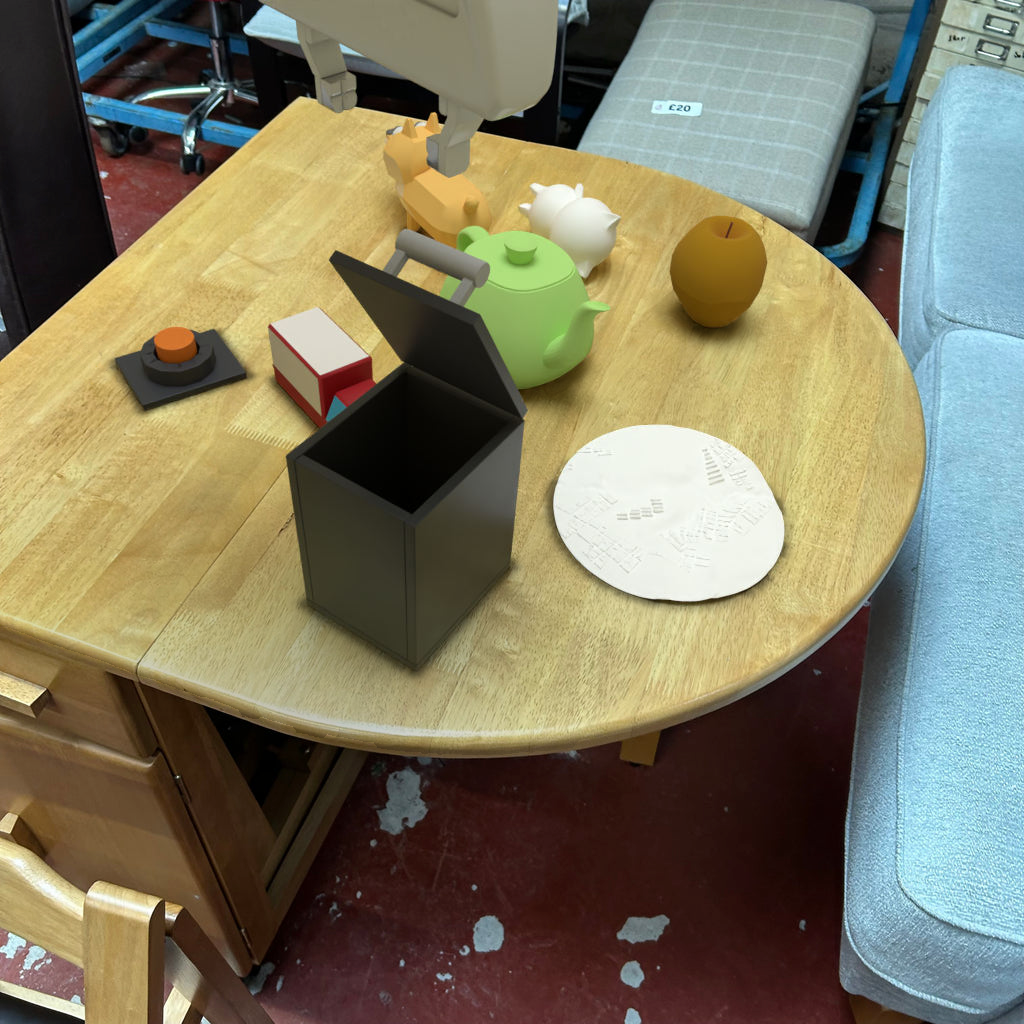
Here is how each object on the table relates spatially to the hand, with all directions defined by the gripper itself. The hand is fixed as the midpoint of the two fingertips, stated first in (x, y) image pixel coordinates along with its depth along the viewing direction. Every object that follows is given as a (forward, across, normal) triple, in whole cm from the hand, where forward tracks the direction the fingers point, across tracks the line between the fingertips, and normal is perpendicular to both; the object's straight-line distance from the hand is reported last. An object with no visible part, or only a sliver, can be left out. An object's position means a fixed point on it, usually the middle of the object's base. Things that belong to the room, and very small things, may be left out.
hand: (390, 137), depth 53 cm
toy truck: (+35, -17, +7) cm, 40 cm away
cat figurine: (+36, -22, +44) cm, 61 cm away
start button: (+33, -32, -1) cm, 46 cm away
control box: (+35, -32, -1) cm, 47 cm away
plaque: (+35, +12, +20) cm, 42 cm away
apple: (+36, -4, +46) cm, 58 cm away
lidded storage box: (+35, +3, -2) cm, 35 cm away
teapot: (+35, -12, +25) cm, 45 cm away
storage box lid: (+13, +3, +1) cm, 13 cm away
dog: (+36, -35, +34) cm, 61 cm away
